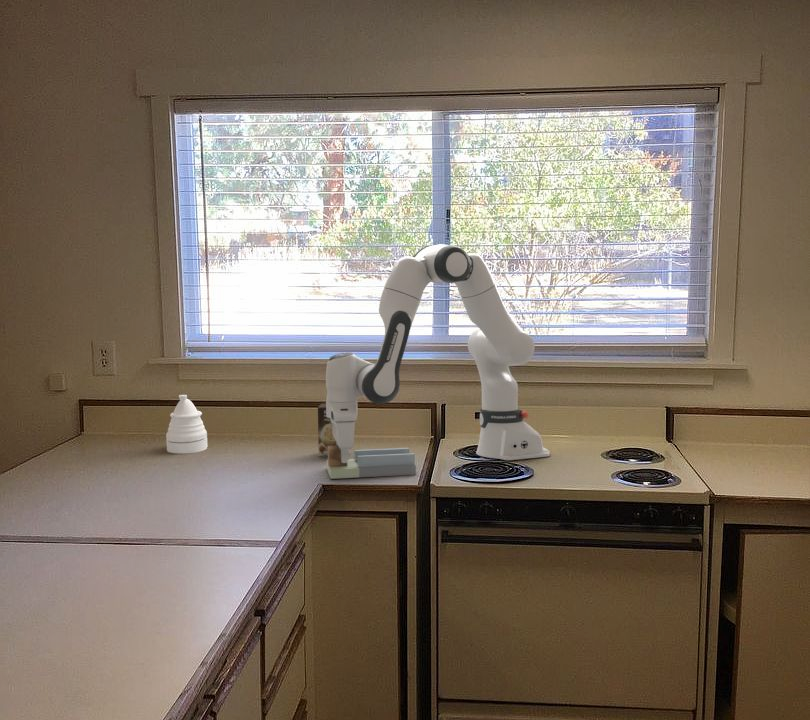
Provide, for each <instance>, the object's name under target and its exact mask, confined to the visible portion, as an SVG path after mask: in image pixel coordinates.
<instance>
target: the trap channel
mask: <svg viewBox="0 0 810 720" xmlns="http://www.w3.org/2000/svg"><path fill="white" fill-rule="evenodd" d="M353 452H354V458H350V459H349V458H348V462H347V466H338V467H329V465H328V459H327V460H326V463H325V464H326V471H327V474H328V476H329V478H330V480H331V479H353V478H354V479H355V478H371V477H372V478H373V477H392V476H396V477H397V476H410V475H411V476H412V475H413V476H415V475H417V470H416V468H417V467H416V464H415V463H416V462H415V459H416V458H415V457H416V456H415V453H413V452H412V453H411V452H410V448H409V447H397V448H396V447H395V448H392V447H391V448H374V449H373V448H372V449H369V448H368V449H354V451H353Z"/></svg>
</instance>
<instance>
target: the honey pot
mask: <svg viewBox="0 0 810 720" xmlns="http://www.w3.org/2000/svg"><path fill="white" fill-rule="evenodd" d="M187 397H188V395H187V394H179V395H178V399H179V401H178V402H177V404H176V406H175V408H174V410H173V411H172V412H171V413H170V414H169V417H171V418H170V422H169V423H168V427H167V432H166V434H165V435H166V436H165V437H166V438H165V439H166V451H167V453H170V454H184V455H185V454H193V453H200V452H202V451H206V449H208V448H209V447H208V431H207V430H206V428H205V427H206V426H205V425H204V422H203V420H202V418H201V416H202V415H203V412H202V411H200V410H198V409H197V408H196V406H195V405H194V403H193V402H192V401H191V400H190V399H188V398H187ZM207 447H208V448H207Z"/></svg>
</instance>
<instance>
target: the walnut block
mask: <svg viewBox="0 0 810 720" xmlns="http://www.w3.org/2000/svg"><path fill="white" fill-rule="evenodd" d="M327 460H328V465H329V467H338V466H347V463H342V462H341V449H340V448H339V446H338V445H334V446H328V457H327Z"/></svg>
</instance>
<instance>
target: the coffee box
mask: <svg viewBox="0 0 810 720" xmlns="http://www.w3.org/2000/svg"><path fill="white" fill-rule="evenodd" d="M317 432H318V434H317V435H318V437H317V440H318V441H317V443H318V444H317V445H318V456H322V457H327V456H328V446H334V445H337V444H336V441H335V439H334V437H333V423H331V419H330V418H328V417H326V403H321V404H320V405H319V406H318V407H317Z"/></svg>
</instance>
